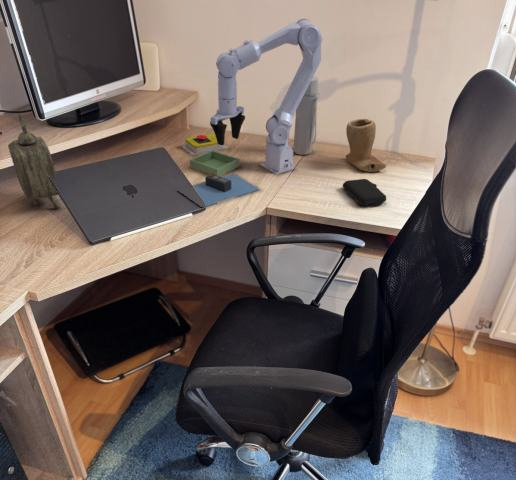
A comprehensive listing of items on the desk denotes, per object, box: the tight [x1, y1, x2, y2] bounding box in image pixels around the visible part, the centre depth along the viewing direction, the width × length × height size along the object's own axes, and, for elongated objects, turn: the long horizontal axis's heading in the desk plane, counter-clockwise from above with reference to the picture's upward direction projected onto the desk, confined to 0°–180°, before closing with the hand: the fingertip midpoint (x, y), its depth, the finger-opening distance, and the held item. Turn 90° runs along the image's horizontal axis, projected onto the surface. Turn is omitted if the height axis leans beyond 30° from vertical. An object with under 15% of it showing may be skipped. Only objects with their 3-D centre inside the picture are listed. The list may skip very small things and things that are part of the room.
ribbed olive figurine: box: [7, 113, 60, 210], centre depth 140 cm, size 14×9×25 cm, turn 30°
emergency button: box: [181, 133, 229, 156], centre depth 183 cm, size 9×4×15 cm
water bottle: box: [292, 75, 321, 156], centre depth 176 cm, size 9×8×25 cm
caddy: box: [189, 150, 240, 177], centre depth 171 cm, size 12×12×3 cm
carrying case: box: [342, 178, 387, 207], centre depth 157 cm, size 11×3×15 cm
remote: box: [204, 174, 231, 192], centre depth 159 cm, size 8×3×3 cm, turn 53°
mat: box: [192, 173, 260, 209], centre depth 158 cm, size 14×22×1 cm, turn 128°
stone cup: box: [344, 118, 387, 173], centre depth 172 cm, size 15×12×15 cm
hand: (228, 141), depth 165 cm, fingers open, 7 cm apart
